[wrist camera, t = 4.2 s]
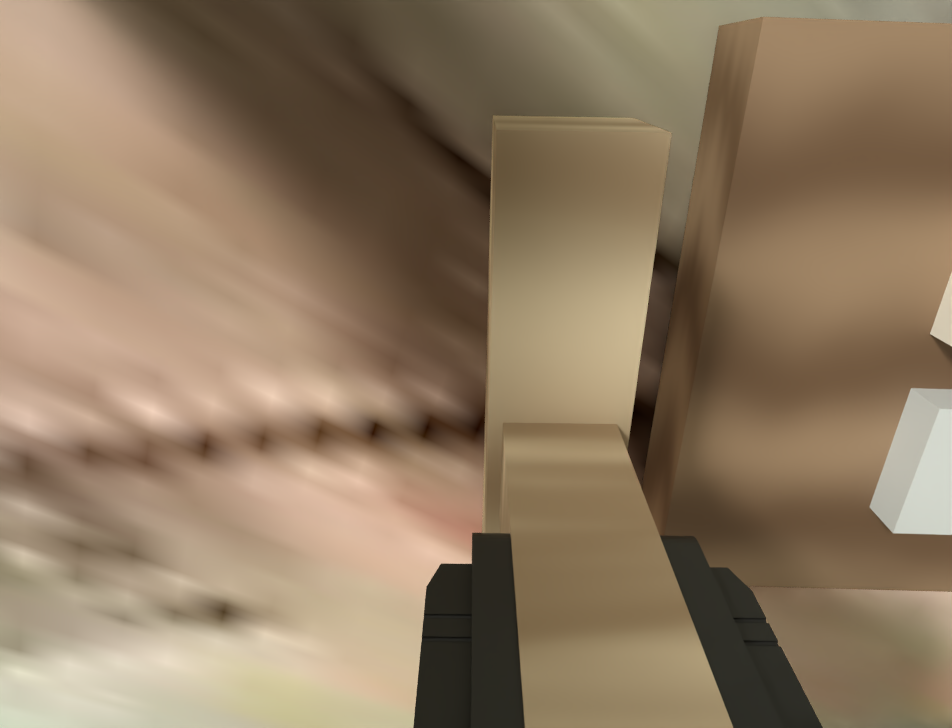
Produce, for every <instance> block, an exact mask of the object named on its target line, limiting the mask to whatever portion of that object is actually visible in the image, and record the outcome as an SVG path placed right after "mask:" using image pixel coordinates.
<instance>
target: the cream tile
mask: <svg viewBox="0 0 952 728" xmlns="http://www.w3.org/2000/svg"><path fill="white" fill-rule="evenodd" d="M930 334H931V335H933V336H934V337H936V338H938V339H940V340H941V341H943V342H945V343H947V344H948V345H950V346H952V272H951V275H950V278H949V281H948V284H947V287H946V289H945V292H944V295H943V298H942V301H941V304H940V307H939V309H938V312H937V315H936V318H935V321H934V324H933V327H932V329H931V332H930Z"/></svg>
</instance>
